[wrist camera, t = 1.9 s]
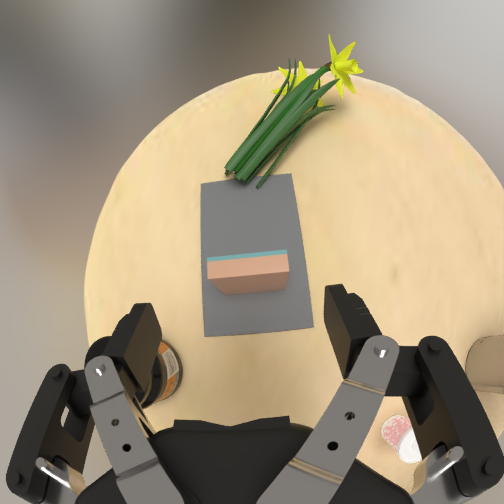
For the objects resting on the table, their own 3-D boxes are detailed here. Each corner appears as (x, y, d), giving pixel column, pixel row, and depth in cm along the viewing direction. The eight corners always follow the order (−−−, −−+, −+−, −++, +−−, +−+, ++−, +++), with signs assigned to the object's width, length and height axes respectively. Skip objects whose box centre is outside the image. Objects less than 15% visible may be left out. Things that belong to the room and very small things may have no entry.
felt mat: (313, 327, 38) (313, 327, 38) (205, 336, 39) (204, 336, 39) (291, 174, 47) (291, 173, 46) (201, 184, 47) (200, 183, 47)
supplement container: (194, 356, 38) (164, 361, 27) (168, 411, 36) (133, 431, 24) (139, 324, 40) (97, 316, 29) (116, 377, 38) (71, 383, 26)
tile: (285, 289, 40) (289, 271, 30) (225, 295, 40) (207, 279, 30) (283, 273, 41) (286, 249, 30) (224, 279, 41) (206, 257, 31)
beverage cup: (374, 419, 33) (414, 447, 19) (408, 405, 33) (456, 423, 19) (378, 449, 31) (415, 484, 17) (411, 435, 31) (455, 461, 17)
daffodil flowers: (198, 157, 50) (300, 49, 48) (257, 202, 54) (347, 90, 52) (197, 141, 34) (330, 12, 32) (281, 206, 38) (390, 66, 36)
